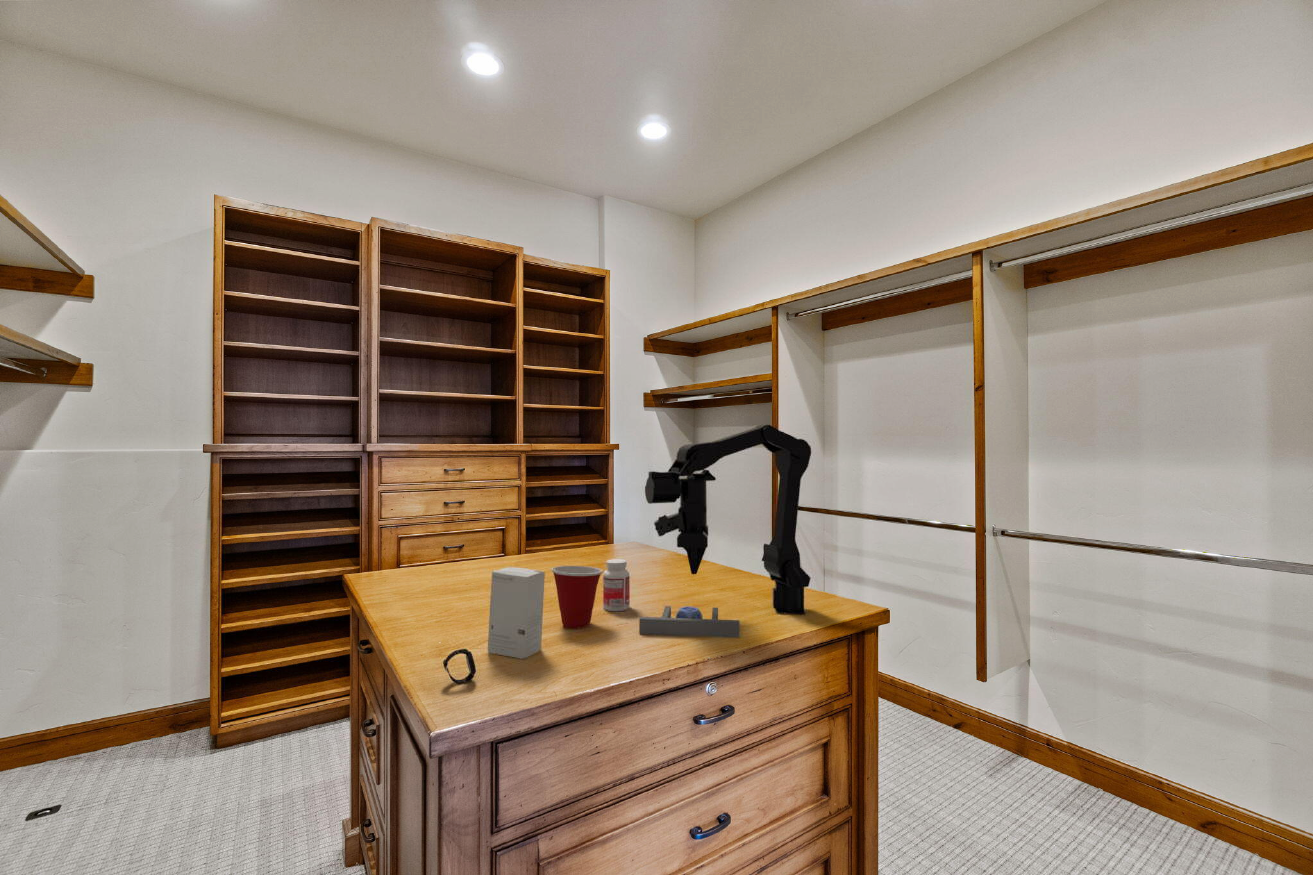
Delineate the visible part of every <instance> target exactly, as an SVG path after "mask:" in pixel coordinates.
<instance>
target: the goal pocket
mask: <svg viewBox="0 0 1313 875" xmlns="http://www.w3.org/2000/svg"><path fill="white" fill-rule="evenodd" d="M638 621H639V623H638V624H639V626H638V628H639V629H638V630H639V631H638V633H639V635H657V636H658V635H659V636H661V635H664V636H686V637H687V636H688V637H705V636H707V638H708V637H709V638H734V639H735V638H736V639H739V638H741V634H740V629H741V628H740V627H741V624H740V623H741V622H740V620H739V619H719V607H712V610H711V618H702V619H690V618H676V617H672V606H671V605H665V606H664V610H663V612H662V615H661V617H656V616H640V617H639V620H638Z"/></svg>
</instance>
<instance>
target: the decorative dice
mask: <svg viewBox="0 0 1313 875" xmlns="http://www.w3.org/2000/svg"><path fill="white" fill-rule="evenodd" d="M675 618H690V619H703V615H702V612H701V611H700V609H699V608H698V607H695V606H683V607H680V608H679V609H678V610H677V612H676V616H675Z"/></svg>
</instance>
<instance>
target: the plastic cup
mask: <svg viewBox="0 0 1313 875" xmlns="http://www.w3.org/2000/svg"><path fill="white" fill-rule="evenodd" d="M551 571H552V573H553V576H554V582H555V586H556V592H557V599H558V601H557V602H558V606H559V612H560V616H561V623H562V626H563V627H564V628H566V629H575V630H576V629H583V628H587V627H588V626H590V625H591V624H590V623H591V621H592V615H593V610H594V606H595V600H596V592H597V589H598V584H599V580H600V578H601V575H602V573H604V570H603V569H601V568H599V567H594V566H588V565H586V566H584V565H560V566H554V567H551Z"/></svg>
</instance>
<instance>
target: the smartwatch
mask: <svg viewBox="0 0 1313 875" xmlns="http://www.w3.org/2000/svg"><path fill="white" fill-rule="evenodd" d="M460 654H461V655H462V654H463V655H465V659H466V664H467V668H468V670H469V673H468V675H467V676H465V677H464V678H461V679H456V678H454V677H453V676H452V675H451V674H450V671H449V668H448V664H449V663H448V662H450V660H451V659H452V658H453V657H455V656H457V655H460ZM442 664H443V667H444V670H445V671H446V672H447V673H448V675H449V676H448V677H449V678H450V680H451V681H452V682H453V683H454V684H455V685H464V684H466V683H467V682H469V681H471V680H473V678H474V677H475V675H476V672H477V670H476V664H475V660H474V656H473V654H472V652H471V651H470V650H468V649H467V648H461V649H457V650H454V651H452V652H451V653H449V655H447V657H446V658H445V659H443V662H442Z"/></svg>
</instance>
